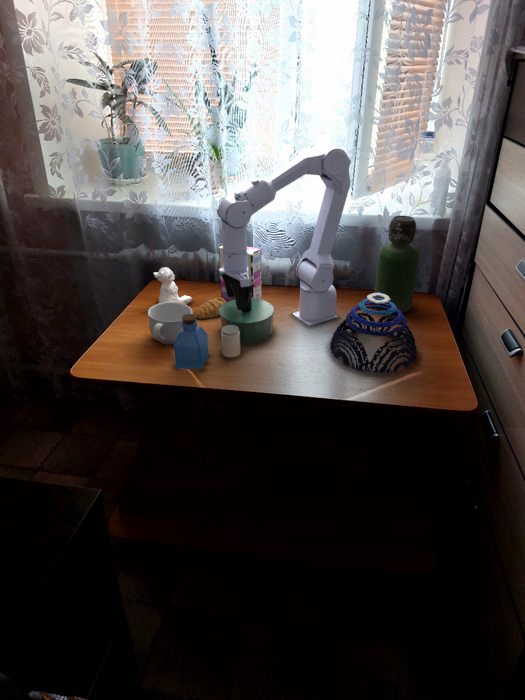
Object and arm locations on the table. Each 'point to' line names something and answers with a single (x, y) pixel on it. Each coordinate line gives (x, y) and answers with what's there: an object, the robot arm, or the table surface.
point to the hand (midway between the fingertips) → (236, 302)
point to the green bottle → (398, 264)
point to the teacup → (167, 320)
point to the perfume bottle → (191, 344)
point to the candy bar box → (253, 273)
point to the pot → (252, 330)
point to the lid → (247, 312)
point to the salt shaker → (230, 341)
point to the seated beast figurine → (169, 288)
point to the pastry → (209, 308)
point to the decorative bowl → (361, 320)
